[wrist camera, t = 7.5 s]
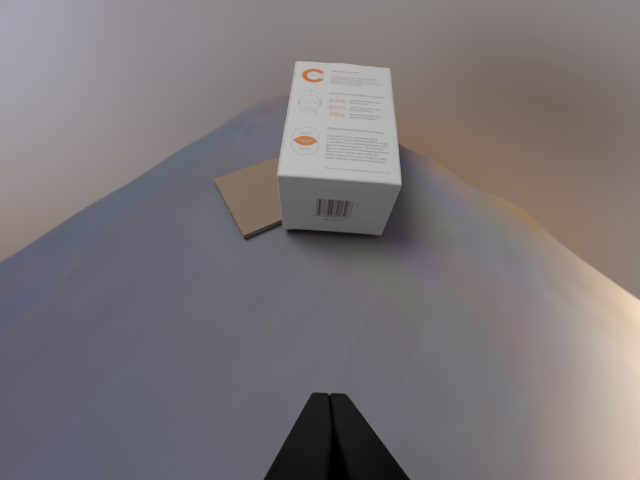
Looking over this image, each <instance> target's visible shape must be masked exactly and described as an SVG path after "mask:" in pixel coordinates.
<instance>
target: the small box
mask: <svg viewBox="0 0 640 480" xmlns="http://www.w3.org/2000/svg"><path fill="white" fill-rule="evenodd" d="M277 179H278V189H279V197H280V207H281V217H282V227H283V229H304V230H319V231H334V232H347V233H360V234H371V235H382V233H383V231H384V228H385V225H386V223H387V221H388V218H389V216H390V213H391V211H392V209H393V206H394V204H395V201H396V199H397V196H398V194H399V191H400V189H401V186H402V178H401V167H400V157H399V145H398V136H397V126H396V118H395V109H394V100H393V90H392V80H391V71H390V69H389V68H378V67H368V66H359V65H352V64H343V63H342V64H341V63H320V62H303V61H298V62H296V63H295V69H294V76H293V82H292V87H291V94H290V99H289V105H288V111H287V116H286V122H285V128H284V134H283V140H282V146H281V152H280V157H279V164H278V171H277Z"/></svg>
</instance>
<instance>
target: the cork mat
mask: <svg viewBox="0 0 640 480" xmlns="http://www.w3.org/2000/svg"><path fill="white" fill-rule="evenodd" d="M279 157H280V156H277V157H275V158H272V159H269V160H266V161H263V162H260V163H258V164H255V165H252V166H249V167H246V168H244V169H241V170H238V171H235V172H232V173H230V174H227V175H224V176H221V177H218V178H216V179H214V182H215V184H216V186H217V188H218V190H219V192H220V194H221V196H222V198H223V199H224V201H225V203H226V205H227V207H228V209H229V211H230V213H231V214H232V216H233V218H234V220H235V222H236V224H237V226H238V228H239V230H240V231H241V233H242V235H243V237H244V239H246V238H248V237H250V236H253V235H255V234H257V233H260V232H262V231H264V230H267V229H269V228H271V227H274V226H276V225H278V224H281V223H282V217H281V207H280V197H279V189H278V179H277V171H278V164H279Z"/></svg>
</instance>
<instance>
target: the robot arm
mask: <svg viewBox="0 0 640 480" xmlns="http://www.w3.org/2000/svg"><path fill="white" fill-rule="evenodd" d="M264 480H410V479H409V477H408V476H407V475H406V473H405V472H404V471H403V469H402V468H401V467H400V465H399V464H398V463H397V461H396V460H395V459H394V457H393V456H392V455H391V453H390V452H389V451H388V449H387V448H386V447H385V445H384V444H383V443H382V441H381V440H380V439H379V437H378V436H377V435H376V433H375V432H374V431H373V429H372V428H371V426H370V425H369V424H368V422H367V421H366V420H365V418H364V417H363V416H362V414H361V413H360V412H359V410H358V409H357V408H356V406H355V405H354V404H353V402H352V401H351V400H350V398H349V397H348V396H347V395H346V394H341V393H331V394H330V395H329V394H328V393H317V392H314V393H312V394H311V396H310V398H309V399H308V401H307V403H306V405H305V407H304V408H303V410H302V412H301V414H300V415H299V417H298V419H297V421H296V423H295V424H294V426H293V428H292V430H291V431H290V433H289V435H288V437H287V439H286V440H285V442H284V444H283V446H282V448H281V449H280V451H279V453H278V455H277V456H276V458H275V460H274V462H273V464H272V465H271V467H270V469H269V471H268V472H267V474H266V476H265V478H264Z"/></svg>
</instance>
